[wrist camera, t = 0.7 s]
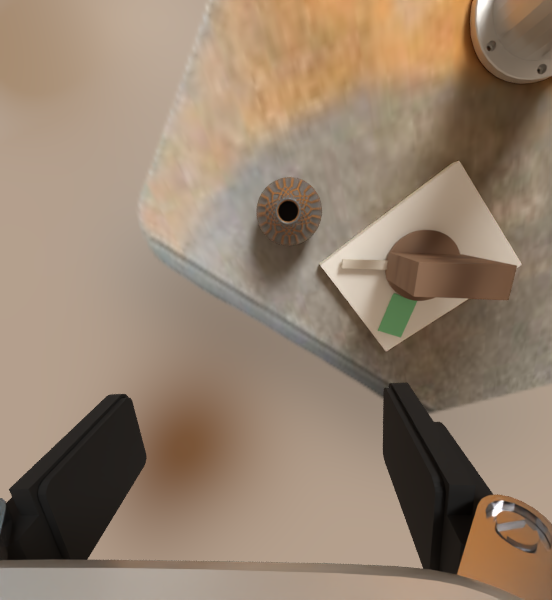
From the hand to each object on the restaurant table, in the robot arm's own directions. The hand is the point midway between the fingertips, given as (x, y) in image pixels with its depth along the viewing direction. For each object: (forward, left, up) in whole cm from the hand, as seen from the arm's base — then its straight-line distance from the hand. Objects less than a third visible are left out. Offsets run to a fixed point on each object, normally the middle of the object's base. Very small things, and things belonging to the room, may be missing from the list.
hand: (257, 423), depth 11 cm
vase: (-5, -6, -27) cm, 28 cm away
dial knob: (-12, +7, -25) cm, 28 cm away
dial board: (-14, +8, -27) cm, 31 cm away
